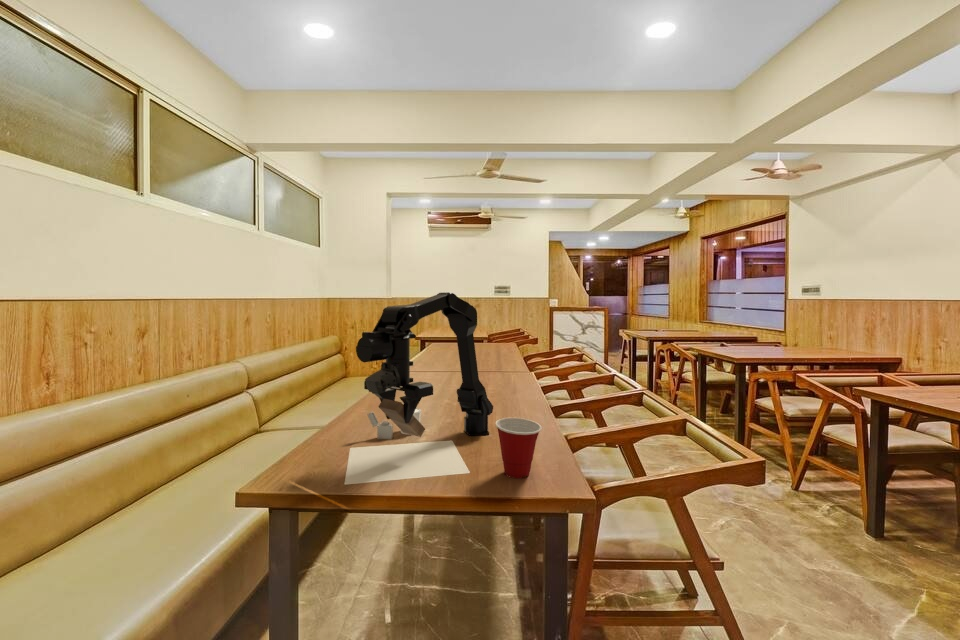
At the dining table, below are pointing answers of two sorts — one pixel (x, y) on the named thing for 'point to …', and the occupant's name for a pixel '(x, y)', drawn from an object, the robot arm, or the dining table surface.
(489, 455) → the dining table surface
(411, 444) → the mat
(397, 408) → the wood grain block
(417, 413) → the white cylinder
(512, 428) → the plastic cup
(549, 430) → the dining table surface
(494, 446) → the dining table surface
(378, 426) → the lighter
